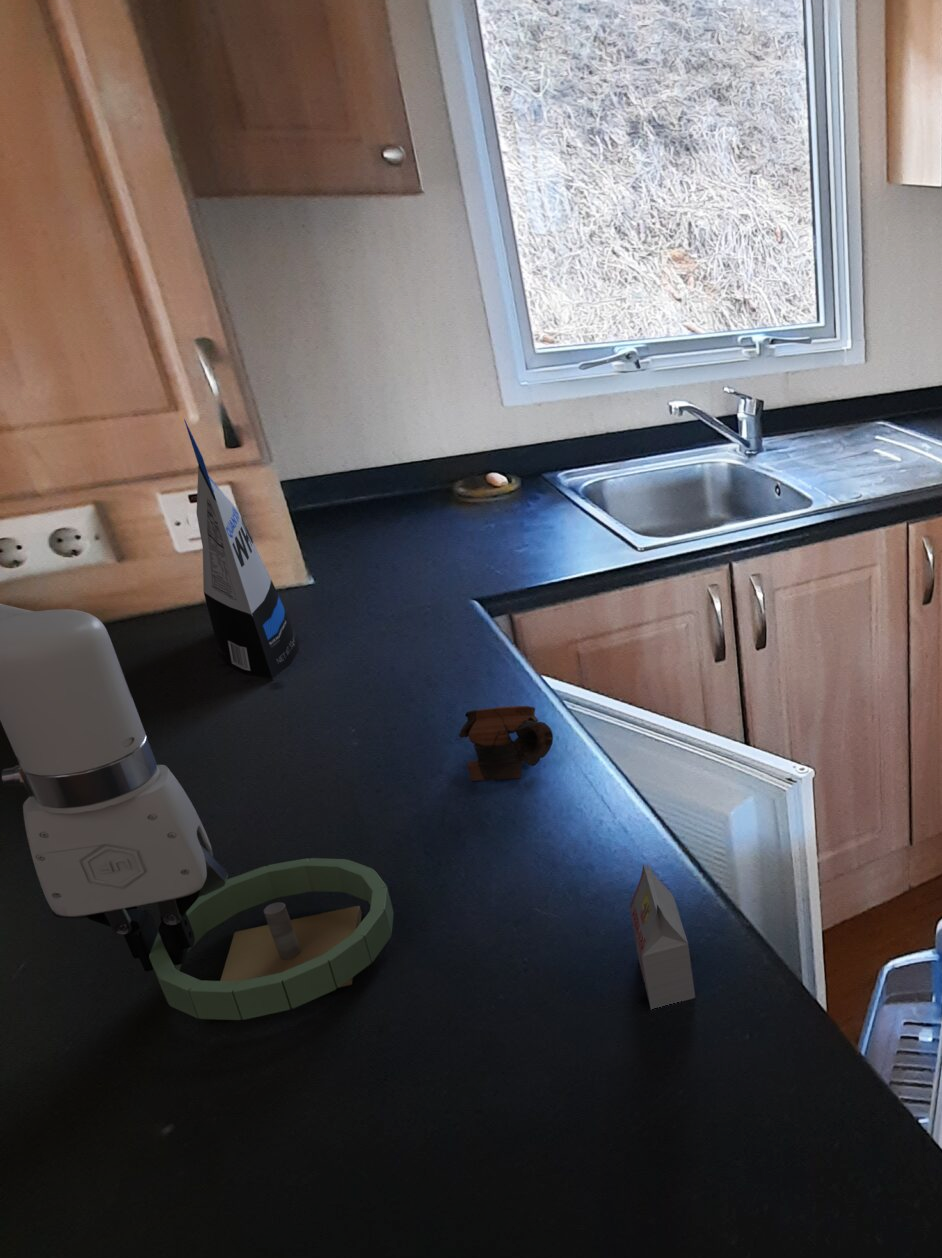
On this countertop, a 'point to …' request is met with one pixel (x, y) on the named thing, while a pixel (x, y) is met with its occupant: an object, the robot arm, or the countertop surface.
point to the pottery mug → (505, 741)
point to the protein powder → (239, 587)
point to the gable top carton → (661, 943)
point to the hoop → (298, 981)
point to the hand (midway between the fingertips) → (168, 955)
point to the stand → (287, 942)
